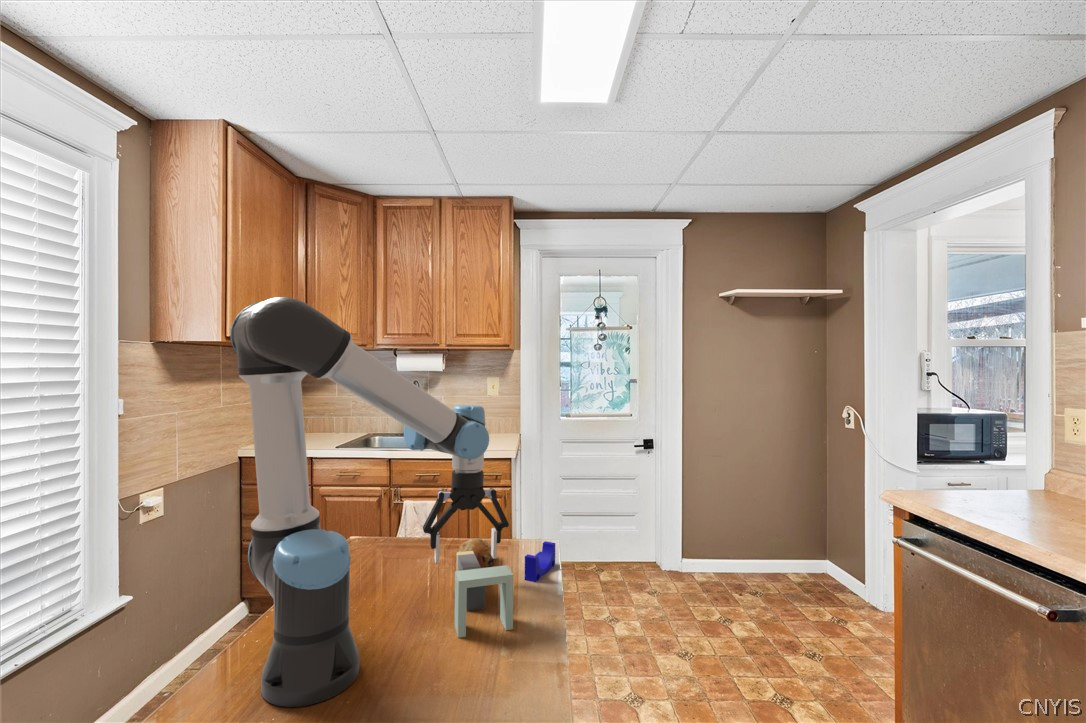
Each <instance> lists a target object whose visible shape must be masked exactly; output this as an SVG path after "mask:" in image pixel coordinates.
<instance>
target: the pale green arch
mask: <svg viewBox="0 0 1086 723" xmlns="http://www.w3.org/2000/svg"><path fill="white" fill-rule="evenodd" d="M492 585H493V586H494V585H500V586H499V588H500V589H499V594H500V596H499V597H500V598H499V599H500V600H499V605H500V606H499V619H500V622H501V623H502V626H503V628H504V629H505V631H510V630H514V573H513V572H512V570H511V569H510V567H509V565H508V564H507V565H498V566H489V567H486V568H479V569H471V570H462V571H454V625H453V626H454V628H455V629H454V630H455V632H456V636H457V638H458V639H460V638H466V637H467V610H466V588H471V587H479V586H485V587H486V586H492Z"/></svg>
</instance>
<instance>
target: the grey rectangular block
mask: <svg viewBox="0 0 1086 723" xmlns="http://www.w3.org/2000/svg"><path fill="white" fill-rule="evenodd" d="M456 553H457V562H456V565H455V566H456V568H455V569H456V571H462V570H471V569H479V568H481V566H480V564H479V562H478V560H477V558H476V556H475V554H474V552H473V551H466V552H457V551H456ZM485 609H486V586H479V587H471V588H466V612H470V611H471V612H472V611H478V610H485Z"/></svg>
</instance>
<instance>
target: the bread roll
mask: <svg viewBox="0 0 1086 723" xmlns="http://www.w3.org/2000/svg"><path fill="white" fill-rule="evenodd" d="M466 551H473V552H474V554H475V556H476V558H477V560H478V562H479V564H480V566H481V568H488V567H492V564H493V563H494V559H493V557H492V556H491V544H490V543H489V542H487V541H486V540H484V539H481V538H472V539H468V540H467V541H465V542H462V544H461V545H459V548H458V549H457V550H456V553H455V554H456V555H455V562H456V563H457V552H466Z"/></svg>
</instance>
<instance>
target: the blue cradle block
mask: <svg viewBox="0 0 1086 723" xmlns="http://www.w3.org/2000/svg"><path fill="white" fill-rule="evenodd" d="M541 547H542V548H541V551H539V552H537V553H536V554H535V555H533V554H526V555H525V556H524V581H526V582H531V583H537V582H538V581H539V580H541V578H543V576H545V575H546V574H547V573H548V572H549V571H550V570H551V569H553V568H554V567H555V566H556V542H552V541H548V540H547V541H546V540H545V541H544V542H543V543H542V546H541Z"/></svg>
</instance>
